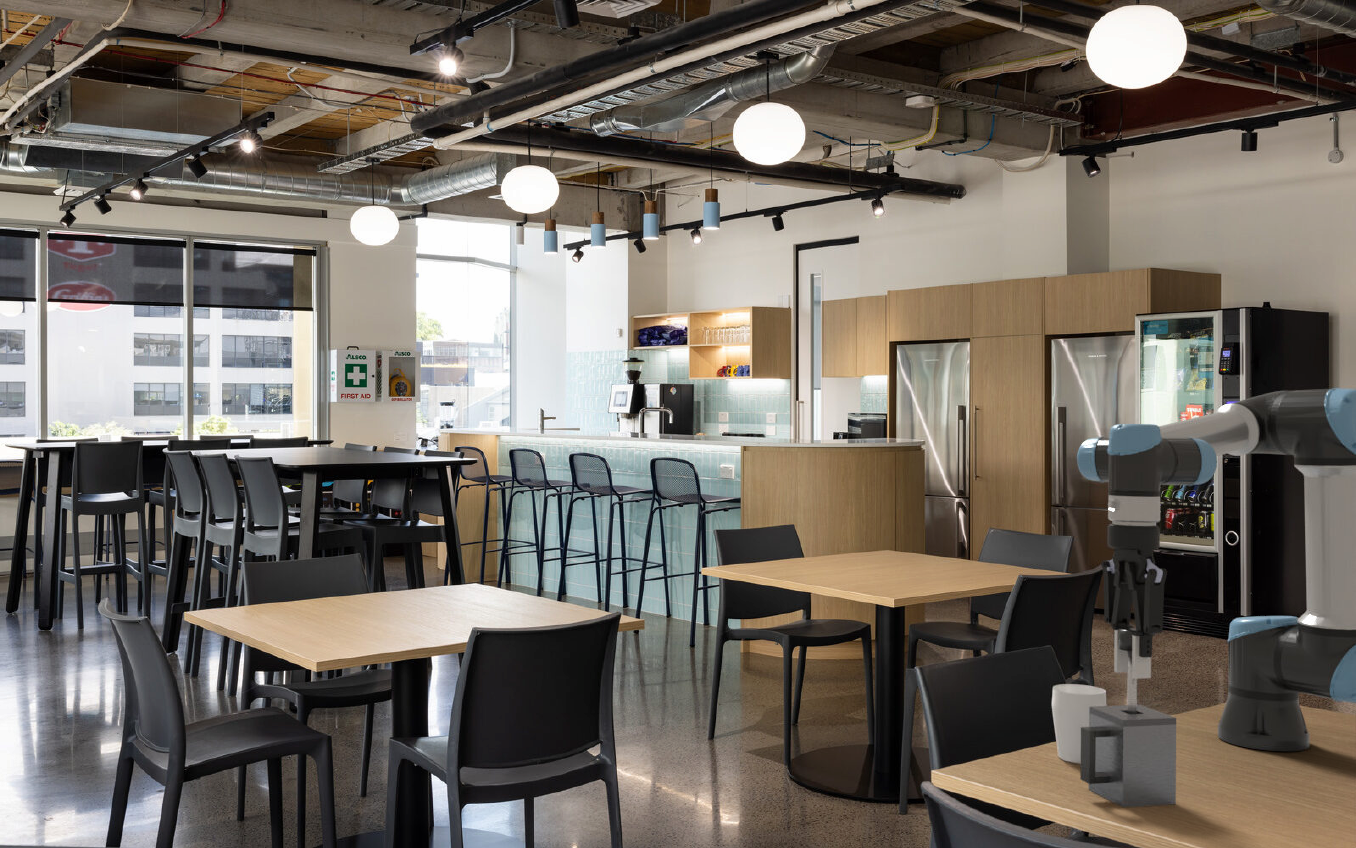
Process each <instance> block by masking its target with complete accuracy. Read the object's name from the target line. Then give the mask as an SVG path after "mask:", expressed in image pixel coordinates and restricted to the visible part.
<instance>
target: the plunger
mask: <svg viewBox="0 0 1356 848" xmlns="http://www.w3.org/2000/svg"><path fill="white" fill-rule="evenodd" d="M1132 632H1136V627H1133V628H1119V649H1120V650H1124V651H1128V664H1127V672H1126V673H1127V674H1126V675H1127V679H1126V680H1127V681H1126V683H1127V685H1126V687H1127V688H1126V689H1127V691H1126V692H1127V693H1126V699H1127V700H1126V705H1127V714H1137V705H1138V679H1135V678H1132V635H1133V634H1132Z"/></svg>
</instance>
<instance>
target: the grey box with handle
mask: <svg viewBox="0 0 1356 848" xmlns="http://www.w3.org/2000/svg"><path fill="white" fill-rule="evenodd" d="M1080 780H1081V781H1082V782H1085V783H1086V784H1088V791H1091V792H1092V793H1095V794H1096V795H1098V796H1101V797H1102V798H1104V799H1106V800H1108V801H1109V802H1112V803H1113V804H1115V805H1117V806H1119V807H1121V808H1133V807H1134V808H1135V807H1150V806H1151V807H1152V806H1164V805H1166V806H1167V805H1176V802H1177V800H1176V798H1177V796H1176V795H1177V717H1175V716H1173V715H1170V714H1166V713H1164V712H1161V711H1159V710H1156V709H1152V708H1150V707H1148V706H1145V705H1141V704H1137V714H1127V704H1123V705H1122V704H1121V705H1107V706H1092V707H1089V727H1081V764H1080Z"/></svg>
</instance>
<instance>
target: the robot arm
mask: <svg viewBox="0 0 1356 848" xmlns="http://www.w3.org/2000/svg"><path fill="white" fill-rule="evenodd" d="M1226 454H1228V455H1231V456H1234V457H1236V456H1237V457H1239V456H1244V455H1248V454H1267V455H1268V454H1271V455H1285V456H1293V458H1294V459H1293V463H1294V464H1293V465H1294V468H1296V469H1297V470H1298V472H1300V473H1302V475H1303V479H1304V480H1303V482H1304V483H1303V485H1304V527H1305V528H1304V529H1305V530H1304V532H1305V533H1304V534H1305V541H1304V542H1305V578H1306V579H1305V581H1306V583H1305V585H1306V586H1305V587H1306V589H1305V590H1306V611H1305V612H1304V613H1303V614H1301V615H1300V617H1297V616H1292V615H1266V616H1265V615H1260V616H1259V615H1258V616H1255V615H1254V616H1243V617H1236V618H1234V619H1232V621H1231V622H1230V623H1229V630H1228V631H1229V632H1228V639H1227V643H1228V645H1227V646H1228V647H1227V649H1228V650H1227V651H1228V652H1227V653H1228V691H1227V692H1228V696H1227V699H1226V702H1225V704H1224V708H1223V710H1222V714H1221V717H1220V720H1219V721H1218V723H1217V737H1218V738H1219V739H1220V740H1222V741H1223V742H1226V743H1228V744H1232V745H1235V746H1239V747H1244V748H1249V749H1255V750H1262V751H1271V752H1299V751H1301V752H1302V751H1305V750H1308V749H1309V748H1310V732H1309V730H1308V729H1307V725H1306V721H1305V717H1304V714H1303V711H1302V708H1301V706H1300V701H1299V700H1300V699H1299V697H1300V695H1299V694H1300V693H1301V694H1307V695H1312V696H1316V697H1320V698H1324V699H1328V700H1329V699H1330V700H1334V701H1335V702H1338V703H1342V702H1344V703H1345V702H1346V703H1350V704H1351V703H1352V704H1356V388H1341V387H1335V388H1323V389H1322V388H1321V389H1319V388H1317V389H1303V390H1302V389H1301V390H1298V389H1296V390H1280V391H1279V390H1277V391H1273V392H1268V393H1264V394H1261V395H1257V396H1252V397H1249V398H1246V399H1242V400H1239V401H1234V402H1232V403H1228V404H1227V403H1226V404H1224V405H1222V406H1221V407H1219V408H1218V409H1217V410H1216V411H1215V412H1213V413H1209V414H1206V415H1202V416H1197V417H1193V418H1189V419H1188V418H1187V419H1185V420H1180V421H1176V422H1173V423H1168V424H1164V425H1157V424H1149V423H1147V424H1146V423H1142V424H1141V423H1118V424H1114V425H1113V426H1111V427H1110V429H1109V437H1105V436H1099V437H1093V438H1091V437H1090V438H1087V439H1086V440H1085V441H1083V442H1082V443H1081V445H1080V446H1079V448H1078V451H1077V454H1076V461H1077V467H1078V471H1079V473H1080V474H1081V475H1082V476H1083V477H1084V478H1085V479H1087V480H1088V481H1092V482H1093V481H1094V482H1100V483H1103V484H1104V483H1108V489H1107V492H1108V494H1107V495H1108V503H1107V507H1108V510H1107V511H1108V512H1107V519H1108V520H1109V521H1111V522H1112V523H1109V524H1108V526H1107V546H1108V547H1109V548H1111V549H1114V551H1113V555H1112V559H1110V560H1102V561H1101V569H1102V573H1103V602H1104V603H1103V604H1104V605H1103V608H1104V609H1103V610H1104V611H1103V612H1104V613H1103V616H1104V619H1103V620H1104V622H1105V623H1106V624H1109V625H1110V628H1111V629H1113V648H1114V651H1113V653H1114V654H1113V657H1114V658H1113V661H1114V662H1113V664H1114V665H1113V670H1114V671H1113V672H1114V673H1116V674H1117V673H1119V674H1120V673H1127V664H1128V651H1124V650H1120V649H1119V628H1134V625H1135V628H1136V632H1132V634H1133V635H1132V678H1135V679H1137V680H1139V679H1151V678H1152V674H1151V673H1152V656H1153V637H1154V636H1155V635H1157V634H1162V633H1163V629H1164V628H1163V627H1164V600H1165V583H1166V580H1167V575H1168V570H1167V569H1166V568H1159V567H1158V566H1157V565H1155V564H1156V561H1155V558H1154V552H1155V551H1157V550H1159V548H1160V544H1161V542H1160V539H1161V538H1160V536H1161V533H1160V530H1161V529H1160V527H1159V526H1158V525H1157V524H1156V523H1160V521H1161V485H1162V486H1166V485H1167V486H1188V487H1191V486H1196V485H1202V484H1205V483H1207V482H1209V480H1211V478H1212V477H1214V475H1215V473H1216V470H1217V465H1218V464H1217V463H1218V460H1217V459H1218V458H1217V457H1218V456H1222V455H1226ZM1132 606H1133V607H1132ZM1132 609H1133V615H1134V625H1132V624H1131V615H1132Z"/></svg>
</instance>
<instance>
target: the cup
mask: <svg viewBox="0 0 1356 848" xmlns="http://www.w3.org/2000/svg"><path fill="white" fill-rule="evenodd" d="M1092 706H1108V704H1107V692H1106V689H1104V688H1102V687H1098V686H1092V685H1089V684H1088V685H1086V684H1078V683H1077V684H1076V683H1075V684H1074V683H1073V684H1072V683H1065V684H1064V683H1063V684H1056V685H1053V686H1052V697H1051V709H1052V710H1051V711H1052V718H1053V719H1052V720H1053V725H1054V733H1055V740H1056V748H1057V755H1058V758H1059V759H1061V760H1062V761H1065V762H1067V763H1071V764H1079V765H1081V727H1089V707H1092Z"/></svg>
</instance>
